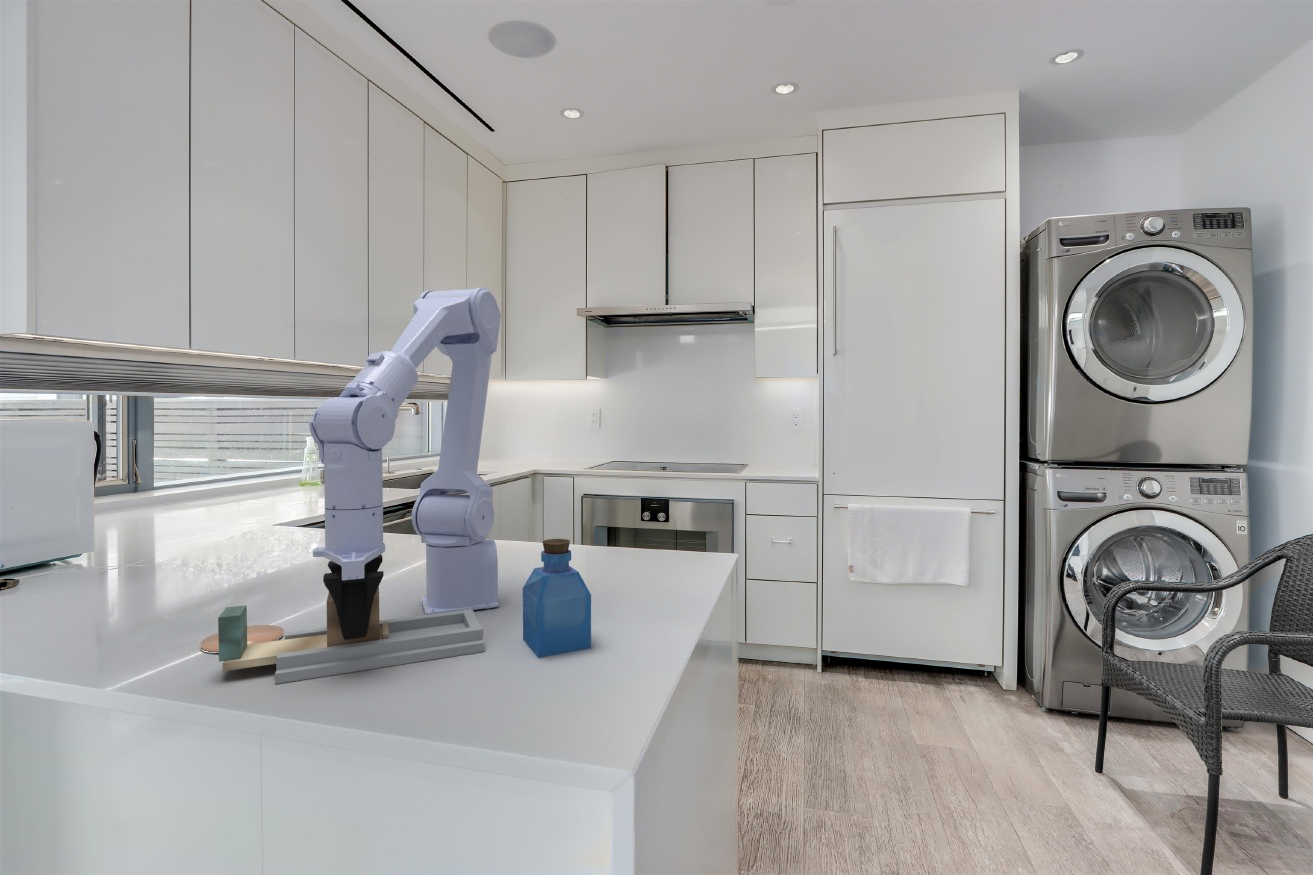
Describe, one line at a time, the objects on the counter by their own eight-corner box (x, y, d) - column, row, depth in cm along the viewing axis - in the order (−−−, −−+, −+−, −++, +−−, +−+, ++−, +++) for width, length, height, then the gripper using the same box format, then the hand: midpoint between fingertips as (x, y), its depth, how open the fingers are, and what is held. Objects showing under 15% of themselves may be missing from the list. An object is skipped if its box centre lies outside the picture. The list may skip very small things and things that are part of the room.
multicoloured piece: (387, 633, 70) (387, 588, 70) (388, 647, 66) (388, 600, 66) (228, 654, 64) (227, 605, 64) (217, 671, 60) (216, 619, 59)
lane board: (471, 623, 77) (470, 606, 77) (484, 651, 68) (484, 631, 68) (287, 648, 68) (287, 629, 68) (275, 683, 59) (274, 661, 59)
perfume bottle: (537, 658, 66) (537, 549, 66) (523, 639, 72) (522, 538, 71) (591, 648, 69) (591, 543, 69) (572, 631, 75) (572, 534, 74)
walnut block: (379, 627, 70) (378, 584, 70) (379, 641, 66) (379, 595, 65) (330, 633, 68) (329, 589, 68) (327, 648, 63) (326, 601, 63)
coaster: (287, 625, 76) (287, 621, 76) (278, 646, 69) (278, 642, 69) (209, 634, 73) (209, 630, 73) (192, 658, 66) (192, 654, 66)
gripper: (317, 500, 71) (319, 614, 72) (305, 518, 58) (307, 658, 59) (383, 497, 74) (384, 606, 75) (386, 514, 61) (387, 647, 62)
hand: (355, 629), depth 67 cm, fingers closed on walnut block, 5 cm apart
